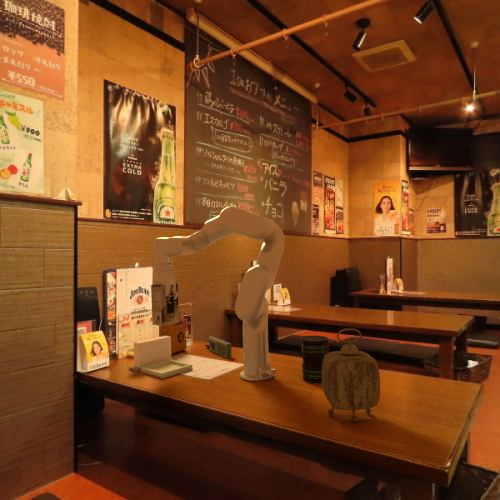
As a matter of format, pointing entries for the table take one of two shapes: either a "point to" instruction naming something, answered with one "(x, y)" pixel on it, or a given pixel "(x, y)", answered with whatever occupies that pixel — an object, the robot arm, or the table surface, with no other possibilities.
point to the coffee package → (175, 334)
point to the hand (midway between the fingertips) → (165, 312)
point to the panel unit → (151, 352)
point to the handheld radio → (219, 347)
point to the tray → (166, 368)
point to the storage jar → (313, 357)
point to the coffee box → (162, 307)
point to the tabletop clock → (350, 378)
